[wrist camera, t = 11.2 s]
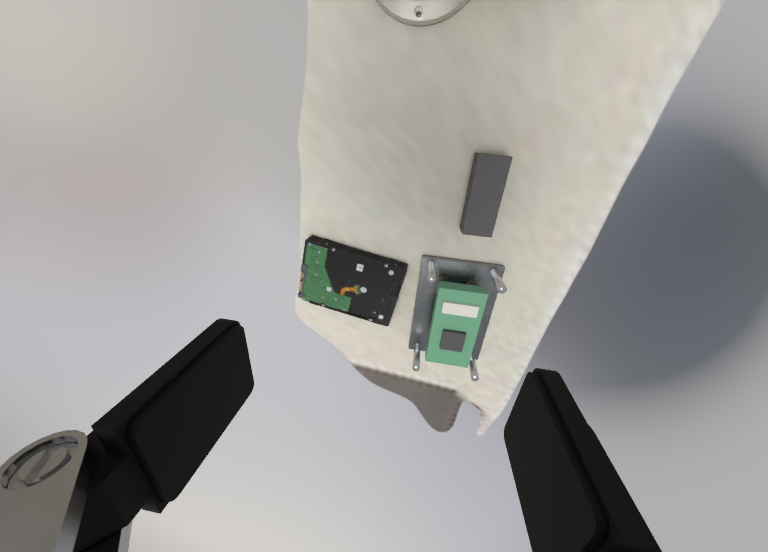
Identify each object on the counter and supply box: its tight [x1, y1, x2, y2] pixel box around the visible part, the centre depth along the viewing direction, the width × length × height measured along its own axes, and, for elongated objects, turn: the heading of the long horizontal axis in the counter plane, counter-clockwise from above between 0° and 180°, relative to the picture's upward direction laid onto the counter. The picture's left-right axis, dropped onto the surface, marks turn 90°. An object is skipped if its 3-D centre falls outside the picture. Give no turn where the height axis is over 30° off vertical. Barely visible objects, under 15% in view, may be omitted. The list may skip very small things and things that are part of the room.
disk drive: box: [298, 235, 408, 326], centre depth 42 cm, size 10×3×15 cm
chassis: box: [409, 255, 507, 381], centre depth 39 cm, size 16×11×6 cm
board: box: [425, 281, 488, 368], centre depth 38 cm, size 12×6×3 cm, turn 175°
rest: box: [460, 153, 512, 237], centre depth 33 cm, size 9×4×3 cm, turn 175°
